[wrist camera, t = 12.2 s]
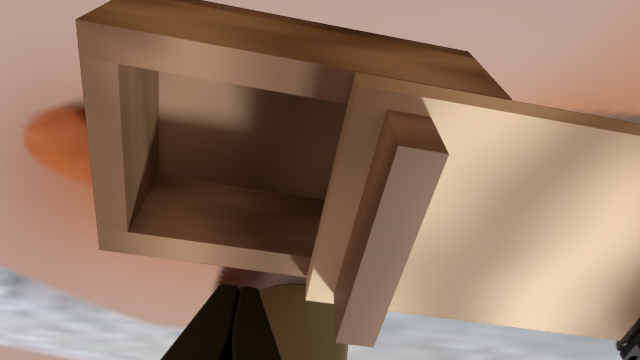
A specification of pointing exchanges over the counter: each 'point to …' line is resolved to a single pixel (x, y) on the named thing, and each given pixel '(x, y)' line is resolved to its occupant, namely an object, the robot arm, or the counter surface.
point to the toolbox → (229, 124)
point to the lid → (478, 214)
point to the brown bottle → (302, 324)
